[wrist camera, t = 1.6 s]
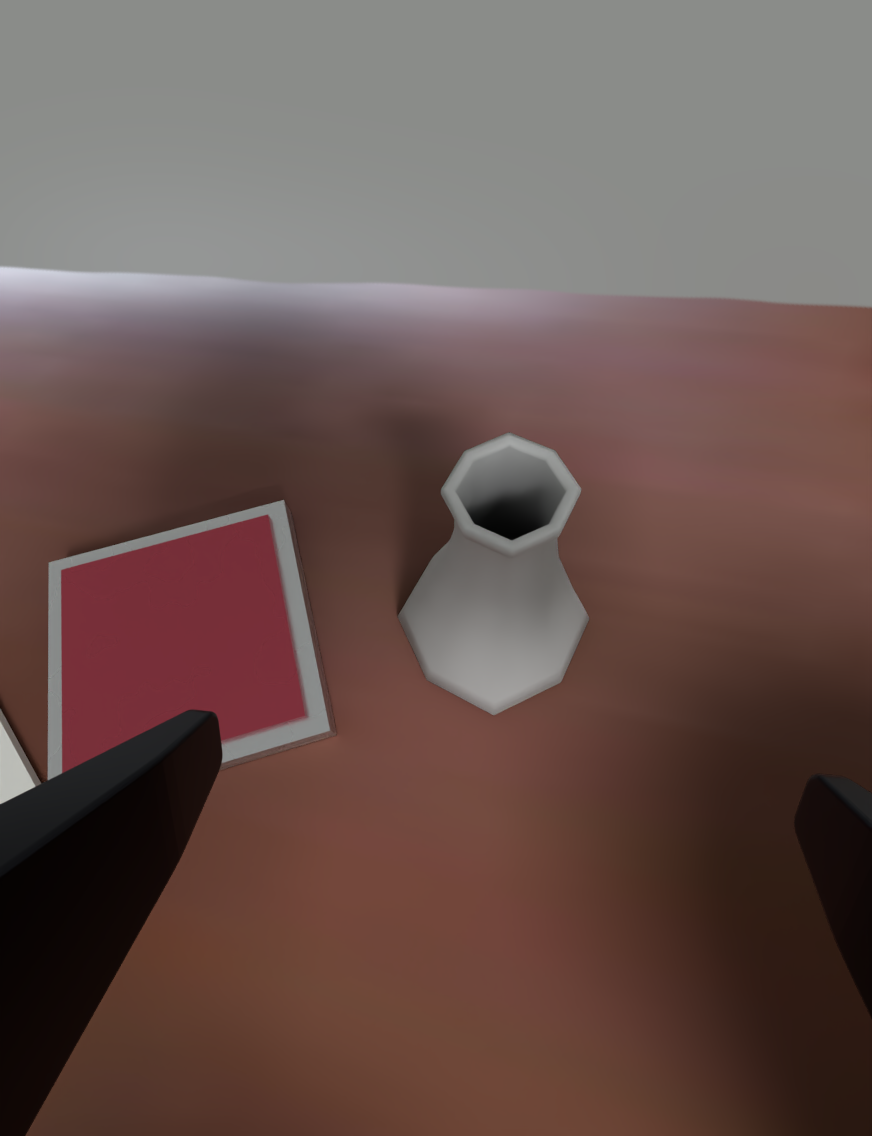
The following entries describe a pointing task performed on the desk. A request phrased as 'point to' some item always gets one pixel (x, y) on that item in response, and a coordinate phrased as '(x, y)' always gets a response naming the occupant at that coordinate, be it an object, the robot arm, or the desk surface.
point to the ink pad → (186, 640)
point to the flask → (499, 579)
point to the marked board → (13, 765)
